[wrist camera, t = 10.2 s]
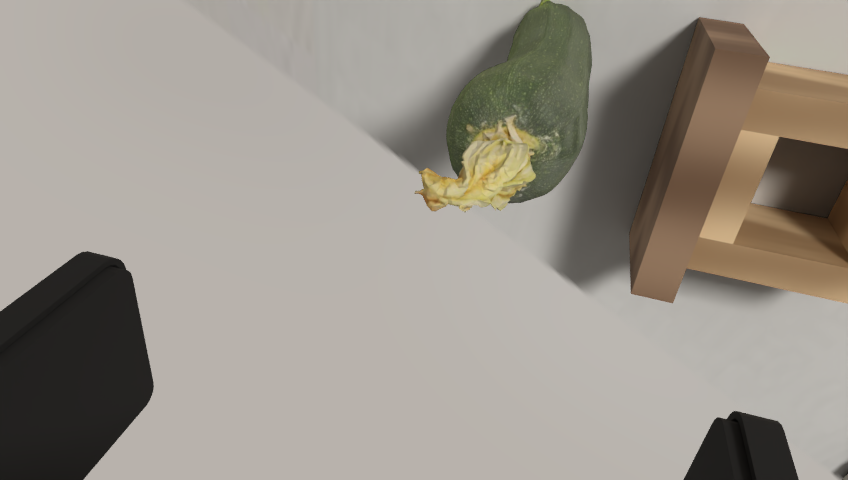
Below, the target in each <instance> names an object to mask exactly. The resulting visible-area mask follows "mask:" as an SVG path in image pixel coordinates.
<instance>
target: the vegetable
mask: <svg viewBox="0 0 848 480" xmlns="http://www.w3.org/2000/svg"><path fill="white" fill-rule="evenodd" d="M591 67H592V56H591V42H590V35H589V33H588V30H587V27H586V24H585V21H584V19H583V18H582V17H581V16H580V15H578V14H577V13H576V12H574V11H573V10H571V9H570V8H569V7H568V6H565V5H562V4H555V3H553V2H551V1H550V0H542V1H541V3H540V5H539V7H537V8H534V9H532V10H530V11H529V12H528V13H527V14H526V15H525V16H524V18H523V20H522V21H521V23H520V25H519V26H518V28H517V30H516V33H515V35H514V38H513V43H512V47H511V50H510V53H509V56H508V60H507V62H505V63H502V64H499V65H496V66H494V67H491V68H489V69H487V70H485V71H483V72H481V73H480V74H478V75H477V76H476V77H475V78H473V79H472V80H471V81H470V82H469V83H468V84H467V85H466V86H465V88H464V89H463V90H462V92H461V93H460V95H459V96H458V98H457V100H456V101H455V103H454V105H453V107H452V109H451V113H450V116H449V120H448V124H447V133H446V139H447V145H448V151H449V156H450V161H451V165H452V168H453V170H454V171H455V173H456V174H457V176H458V179H456V180H455V179H451V178H449V177H448V178H447V177H441V176H439V175H437V174H436V173H435V172H433V171H432V170H430V169H429V168H426V169H425V170H423V171H419V174H422V175H421V176H422V182H423V186H424V189H422V190H421V191H415V194H416V193H419V194H421V195H423V197H424V200H425V202H426V204H427V206H428V207H429V208H430V209H431V211H437V210H439V209H441V208H443V207H445V206H446V205H447V204H450V205H454V206H459V209H461V210H462V211H465V212H466V211H467V210H469V209H470V208H472V206H473V205H478V206H480V207H487V206H488V205H489V204H491V205H492V207H493V208H494V209H495V210H496V208H497V209H498V210H500V211H501V210H502V209H503V208H505V207H506V205H507V203H521V202H524V201H527V200H531V199H534V198H537V197H540V196H543V195H545V194H547V193H548V192H550V191H551V190H552V189H553V188H554V187H556V186H557V185H558V184H559V182H560V181H561V180H562V179H563V178H564V176H565V175H566V174H567V173H568V171H569V170H570V168H571V166H572V165H573V163H574V161H575V160H576V158H577V156H578V155H579V152H580V150H581V148H582V145H583V142H584V139H585V134H586V130H587V120H588V114H587V108H588V97H589V79H590V73H591Z"/></svg>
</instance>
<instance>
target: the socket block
mask: <svg viewBox="0 0 848 480" xmlns="http://www.w3.org/2000/svg"><path fill="white" fill-rule="evenodd" d="M779 137H784V138H790V139H795V140H801V141H807V142H812V143H818V144H823V145H829V146H834V147H840V148H846V149H848V75H845V74H839V73H832V72H826V71H820V70H814V69H807V68H801V67H795V66H789V65H783V64H776V63H770V62H768V63H767V66H766V68H765V71H764V73H763V76H762V78H761V81H760V83H759V86H758V88H757V91H756V93H755V96H754V99H753V101H752V104H751V106H750V109H749V111H748V114H747V116H746V119H745V121H744V124H743V126H742V129H741V132H740V134H739V137H738V139H737V142H736V144H735V147H734V149H733V152H732V154H731V157H730V159H729V162H728V164H727V167H726V170H725V172H724V175H723V177H722V180H721V182H720V185H719V187H718V190H717V192H716V195H715V197H714V200H713V203H712V205H711V208H710V210H709V213H708V215H707V218H706V220H705V223H704V225H703V228H702V230H701V233H700V236H699V238H698V241H697V243H696V246H695V248H694V251H693V253H692V256H691V258H690V261H689V263H688V266H687V268H688V269H692V270H697V271H701V272H706V273H711V274H715V275H720V276H724V277H729V278H733V279H738V280H743V281H747V282H752V283H756V284H761V285H766V286H770V287H775V288H779V289H784V290H788V291H793V292H798V293H802V294H807V295H811V296H816V297H821V298H825V299H830V300H834V301H839V302H843V303H848V179H847V181H846V183H845V185H844V187H843V189H842V191H841V193H840V195H839V197H838V199H837V201H836V202H835V204H834V206H833V208H832V210H831V212H830V214H829V216H828V218H823V217H818V216H813V215H808V214H803V213H798V212H793V211H787V210H782V209H777V208H772V207H767V206H762V205H757V204H752V203H751V201H752V199H753V197H754V194H755V192H756V190H757V187H758V185H759V183H760V180H761V178H762V176H763V173H764V171H765V169H766V167H767V164H768V162H769V160H770V157H771V155H772V153H773V150H774V148H775V146H776V143H777V141H778V139H779Z"/></svg>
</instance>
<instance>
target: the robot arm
mask: <svg viewBox="0 0 848 480" xmlns="http://www.w3.org/2000/svg"><path fill="white" fill-rule="evenodd" d="M153 387H154V386H153V379H152V373H151V368H150V364H149V359H148V354H147V349H146V344H145V339H144V334H143V328H142V324H141V318H140V314H139V308H138V303H137V298H136V293H135V288H134V283H133V278H132V276H131V273H130V272H129V271H127V270H126V268H125V265H124V263H123V262H122V261H121V260H119V259H116V258H112V257H108V256H104V255H100V254H96V253H92V252H88V251H87V252H81V253H80V254H78V255H76V256H75V257H73V258H72V259H71V260H69V261H68V262H67V263H65V264H64V265H63V266H61V267H60V268H58V269H57V270H56V271H54V272H53V273H52V274H50V275H49V276H48V277H46V278H45V279H44V280H42V281H41V282H40V283H38V284H37V285H35V286H34V287H33V288H31V289H30V290H29V291H28V292H26V293H25V294H23V295H22V296H21V297H19V298H18V299H17V300H15V301H14V302H13V303H11V304H10V305H8V306H7V307H6V308H4V309H3V310H2V311H0V480H83V479H84V478H85V477H86V475H87V474H88V473H89V472H90V471H91V470H92V469H93V467H94V466H95V465H96V464H97V463H98V462H99V460H100V459H101V458H102V457H103V456H104V454H105V453H106V452H107V451H108V450H109V449H110V447H111V446H112V445H113V444H114V443H115V442H116V440H117V439H118V438H119V437H120V436H121V435H122V433H123V432H124V431H125V430H126V429H127V427H128V426H129V425H130V424H131V423H132V422H133V420H134V419H135V418H136V417H137V416H138V415H139V413H140V412H141V411H142V410H143V409H144V407H145V406H146V405H147V403H148V402H149V400H150V398H151V396H152V392H153ZM684 480H798V476H797V473H796V469H795V466H794V462H793V460H792V456H791V452H790V449H789V446H788V442H787V439H786V436H785V432H784V430H783V427H782V425H781V424H780V423H779V422H778V421H774V420H770V419H766V418H762V417H758V416H754V415H750V414H746V413H742V412H737V411H734V412H732V413H731V414H730V415H729V417H728V418H727V419H723V418H716V419H715V420H714V422H713V423H712V425H711V427H710V429H709V431H708V433H707V435H706V437H705V439H704V441H703V443H702V445H701V447H700V449H699V451H698V453H697V454H696V456H695V459H694V460H693V462H692V464H691V466H690V468H689V470H688V472H687V474H686V476H685V478H684ZM842 480H848V474H847V475H846V476H845V477H844V478H843V479H842Z"/></svg>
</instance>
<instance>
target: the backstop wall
mask: <svg viewBox="0 0 848 480" xmlns="http://www.w3.org/2000/svg"><path fill="white" fill-rule="evenodd" d="M769 58H770V57H769V55H768V54H767V53H766V52H765V50H764V49H763V48H762V47H761V45H760V44H759V43H758V42H757V40H756V39H755V38H754V36H753V35H752V34H751V33H750V31H749V30H748V29H747V28H746V26H745V25H744V24H740V23H733V22H727V21H720V20H714V19H707V18H700V17H699V19H698V22H697V25H696V28H695V31H694V34H693V37H692V41H691V44H690V47H689V50H688V53H687V56H686V59H685V62H684V65H683V68H682V72H681V75H680V78H679V81H678V84H677V87H676V90H675V93H674V96H673V100H672V103H671V106H670V109H669V112H668V115H667V118H666V121H665V124H664V127H663V131H662V134H661V137H660V140H659V143H658V146H657V149H656V152H655V155H654V159H653V162H652V165H651V168H650V171H649V174H648V177H647V180H646V183H645V186H644V190H643V193H642V196H641V199H640V202H639V205H638V208H637V211H636V214H635V218H634V221H633V224H632V227H631V230H630V233H629V243H630V278H631V294H635V295H639V296H643V297H648V298H652V299H657V300H661V301H665V302H670V303H673V301H674V299H675V296H676V294H677V291H678V289H679V286H680V284H681V281H682V279H683V276H684V274H685V271H686V268H687V266H688V263H689V261H690V258H691V256H692V253H693V251H694V248H695V246H696V243H697V241H698V238H699V236H700V233H701V230H702V228H703V225H704V223H705V220H706V218H707V215H708V213H709V210H710V208H711V205H712V203H713V200H714V197H715V195H716V192H717V190H718V187H719V185H720V182H721V180H722V177H723V175H724V172H725V170H726V167H727V164H728V162H729V159H730V157H731V154H732V152H733V149H734V147H735V144H736V142H737V139H738V137H739V134H740V132H741V129H742V126H743V124H744V121H745V119H746V116H747V114H748V111H749V109H750V106H751V104H752V101H753V99H754V96H755V93H756V91H757V88H758V86H759V83H760V81H761V78H762V76H763V73H764V71H765V68H766V66H767V63H768V60H769Z"/></svg>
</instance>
